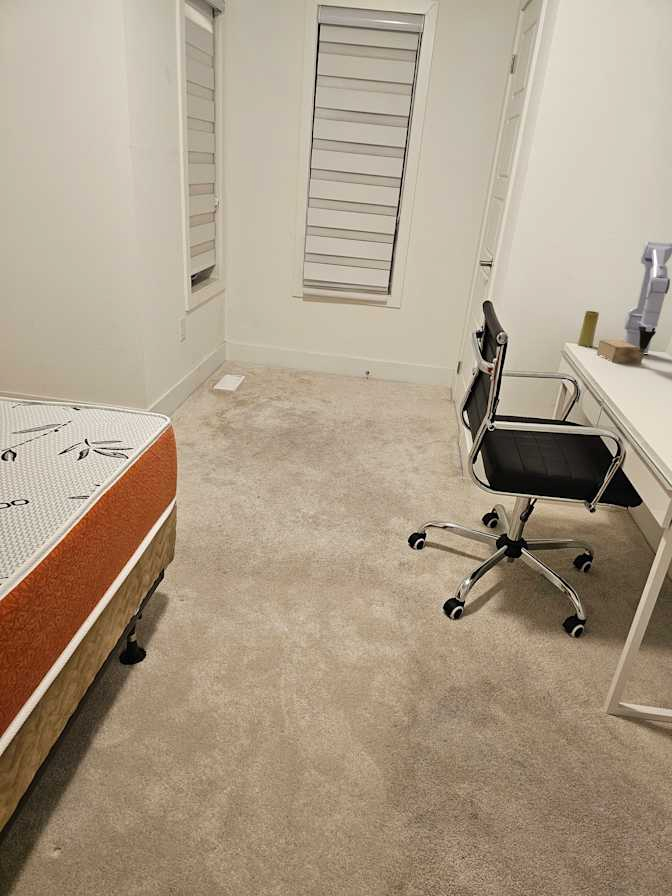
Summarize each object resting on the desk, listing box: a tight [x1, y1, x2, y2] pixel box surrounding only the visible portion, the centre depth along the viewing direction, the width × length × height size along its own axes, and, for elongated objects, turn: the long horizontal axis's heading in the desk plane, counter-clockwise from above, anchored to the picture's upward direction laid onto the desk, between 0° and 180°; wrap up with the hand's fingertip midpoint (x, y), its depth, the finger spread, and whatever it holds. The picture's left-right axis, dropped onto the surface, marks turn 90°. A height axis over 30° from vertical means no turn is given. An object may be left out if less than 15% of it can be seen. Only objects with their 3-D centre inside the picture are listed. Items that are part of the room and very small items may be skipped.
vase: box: [577, 310, 600, 347], centre depth 259 cm, size 6×6×14 cm
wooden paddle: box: [612, 347, 645, 366], centre depth 232 cm, size 10×2×11 cm, turn 75°
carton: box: [596, 339, 639, 362], centre depth 241 cm, size 10×11×6 cm
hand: (642, 347), depth 230 cm, fingers open, 4 cm apart
